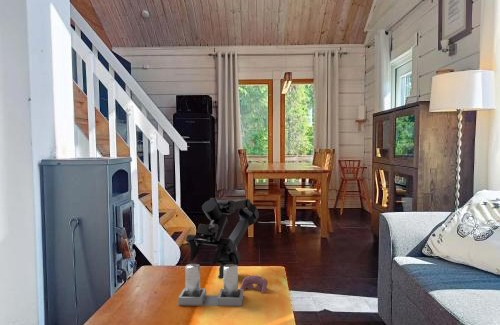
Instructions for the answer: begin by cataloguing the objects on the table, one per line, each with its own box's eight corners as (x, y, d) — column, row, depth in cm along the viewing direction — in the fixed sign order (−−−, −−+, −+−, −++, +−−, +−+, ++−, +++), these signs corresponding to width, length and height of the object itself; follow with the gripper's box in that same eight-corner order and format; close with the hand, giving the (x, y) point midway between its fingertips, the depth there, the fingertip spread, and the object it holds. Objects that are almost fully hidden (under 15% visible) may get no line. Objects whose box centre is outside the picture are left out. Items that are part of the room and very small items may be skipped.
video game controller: (267, 297, 133) (269, 277, 136) (264, 295, 129) (266, 275, 132) (242, 293, 137) (244, 274, 139) (238, 292, 133) (241, 273, 135)
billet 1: (192, 295, 129) (192, 262, 128) (203, 299, 126) (202, 265, 126) (182, 300, 125) (182, 266, 124) (193, 304, 122) (192, 269, 121)
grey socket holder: (244, 298, 128) (244, 288, 128) (242, 309, 120) (242, 298, 120) (183, 297, 130) (183, 288, 130) (177, 308, 121) (177, 297, 121)
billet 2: (232, 296, 128) (232, 263, 127) (240, 301, 124) (240, 266, 124) (220, 300, 125) (220, 266, 124) (228, 304, 121) (228, 269, 120)
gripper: (187, 213, 138) (170, 249, 129) (230, 216, 131) (215, 255, 121) (199, 229, 146) (183, 264, 136) (240, 233, 138) (227, 270, 128)
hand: (201, 263), depth 130 cm, fingers open, 9 cm apart
